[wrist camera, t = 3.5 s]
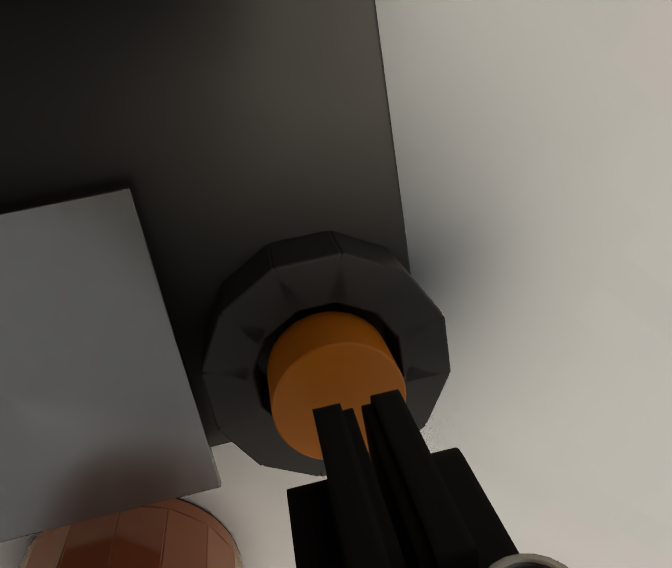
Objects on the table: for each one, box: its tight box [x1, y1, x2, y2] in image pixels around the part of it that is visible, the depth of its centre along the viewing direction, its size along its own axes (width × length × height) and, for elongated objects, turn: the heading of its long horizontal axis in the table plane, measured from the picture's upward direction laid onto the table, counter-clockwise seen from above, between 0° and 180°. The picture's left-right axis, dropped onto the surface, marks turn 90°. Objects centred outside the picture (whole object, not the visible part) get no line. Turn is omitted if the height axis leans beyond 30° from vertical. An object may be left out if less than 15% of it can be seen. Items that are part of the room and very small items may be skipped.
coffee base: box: [0, 0, 450, 476], centre depth 13 cm, size 15×16×3 cm
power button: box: [267, 311, 406, 460], centre depth 14 cm, size 3×3×2 cm
